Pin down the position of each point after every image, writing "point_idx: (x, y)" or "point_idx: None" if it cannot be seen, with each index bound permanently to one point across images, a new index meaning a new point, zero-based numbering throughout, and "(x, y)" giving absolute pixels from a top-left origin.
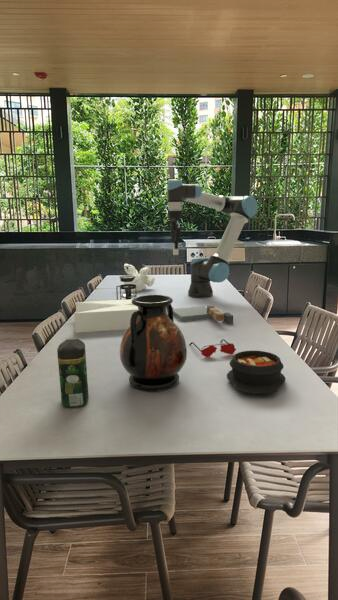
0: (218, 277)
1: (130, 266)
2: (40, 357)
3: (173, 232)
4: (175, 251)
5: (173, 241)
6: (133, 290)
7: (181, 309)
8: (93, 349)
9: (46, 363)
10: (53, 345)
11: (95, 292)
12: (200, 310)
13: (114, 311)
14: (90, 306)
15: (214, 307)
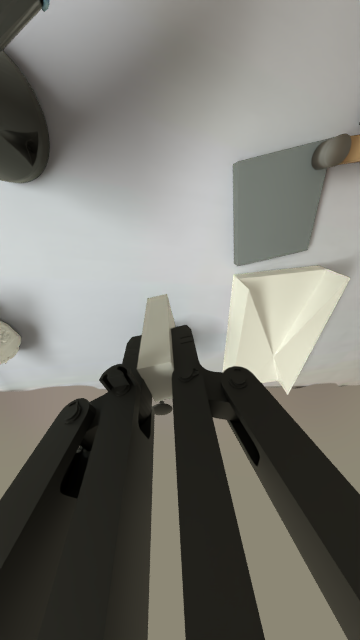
0: None
1: (166, 404)
2: (330, 382)
3: (144, 617)
4: (173, 326)
5: (152, 409)
6: (18, 337)
7: (250, 241)
8: (340, 354)
9: (347, 377)
10: (304, 381)
11: (48, 386)
12: (281, 186)
13: (304, 361)
14: None
15: (353, 136)
